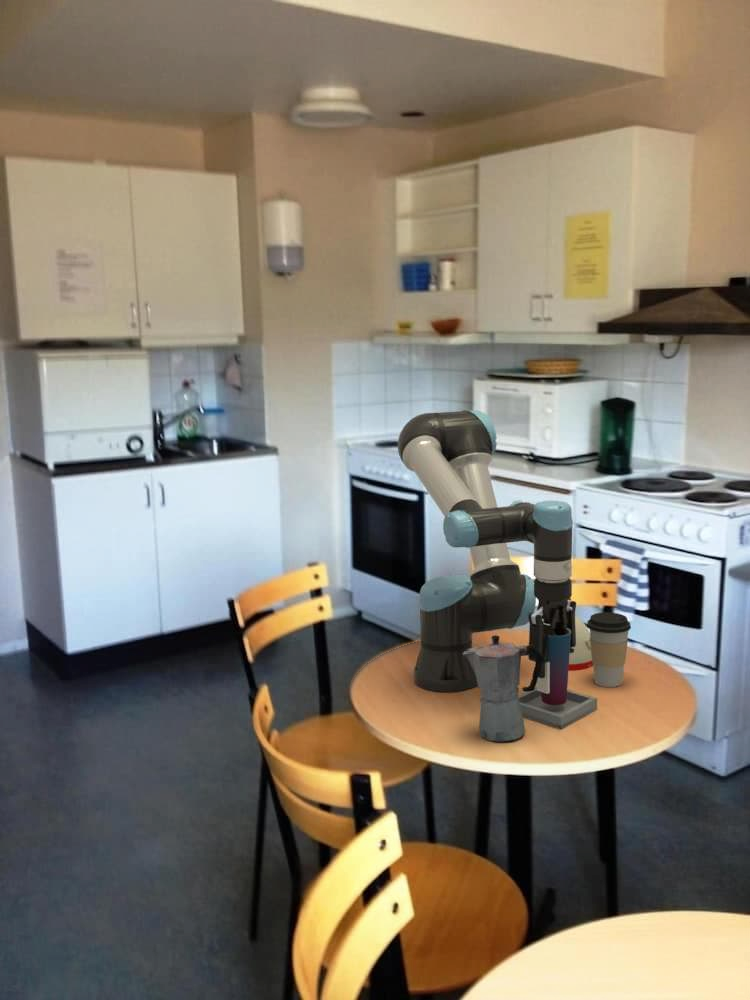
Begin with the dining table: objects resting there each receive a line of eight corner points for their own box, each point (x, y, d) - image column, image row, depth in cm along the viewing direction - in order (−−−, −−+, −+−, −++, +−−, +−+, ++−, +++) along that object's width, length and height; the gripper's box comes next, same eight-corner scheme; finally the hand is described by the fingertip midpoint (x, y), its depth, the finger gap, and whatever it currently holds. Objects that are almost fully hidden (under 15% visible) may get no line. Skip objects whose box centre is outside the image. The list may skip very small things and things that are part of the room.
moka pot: (463, 723, 189) (461, 628, 185) (539, 722, 188) (539, 627, 185) (465, 744, 179) (464, 644, 176) (546, 742, 179) (546, 642, 175)
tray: (508, 712, 194) (508, 700, 193) (545, 693, 203) (545, 683, 202) (561, 729, 184) (561, 717, 184) (597, 709, 193) (597, 698, 193)
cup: (544, 692, 197) (544, 623, 195) (575, 697, 194) (575, 628, 191) (532, 703, 192) (532, 633, 189) (564, 709, 188) (564, 638, 186)
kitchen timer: (601, 655, 226) (602, 594, 223) (588, 674, 214) (589, 610, 211) (545, 648, 232) (545, 589, 229) (529, 666, 219) (529, 605, 217)
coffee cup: (631, 691, 203) (632, 624, 200) (586, 689, 204) (587, 623, 202) (627, 675, 212) (629, 611, 209) (585, 673, 213) (586, 610, 211)
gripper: (540, 591, 179) (540, 705, 183) (594, 571, 192) (593, 678, 196) (509, 584, 185) (509, 695, 189) (564, 566, 198) (563, 670, 202)
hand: (552, 686), depth 193 cm, fingers closed on cup, 6 cm apart
